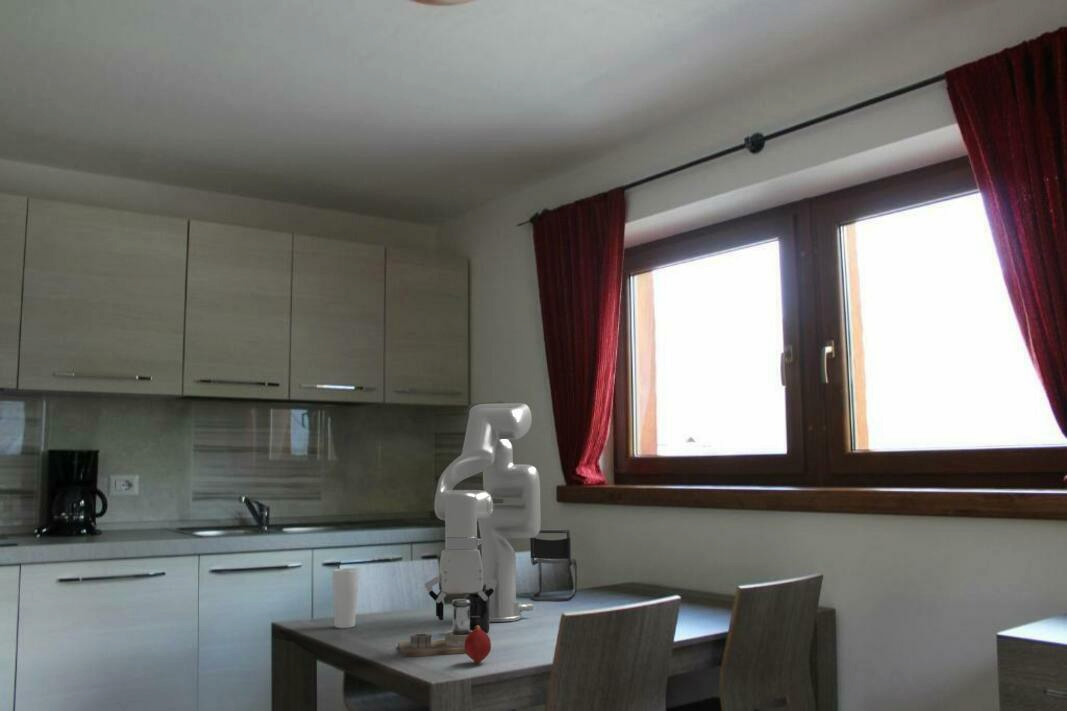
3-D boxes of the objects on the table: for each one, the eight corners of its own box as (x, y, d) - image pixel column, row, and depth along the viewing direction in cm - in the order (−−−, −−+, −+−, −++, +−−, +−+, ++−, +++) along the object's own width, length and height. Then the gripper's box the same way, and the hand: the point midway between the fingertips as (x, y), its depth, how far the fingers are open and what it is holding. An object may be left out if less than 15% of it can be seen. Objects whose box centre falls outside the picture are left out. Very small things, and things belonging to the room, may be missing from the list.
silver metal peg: (468, 641, 221) (468, 598, 222) (472, 644, 217) (472, 601, 218) (450, 642, 220) (450, 599, 221) (453, 646, 216) (453, 601, 217)
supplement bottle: (469, 635, 234) (469, 586, 235) (458, 631, 240) (458, 583, 241) (494, 633, 237) (494, 585, 238) (483, 629, 243) (483, 582, 244)
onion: (464, 660, 205) (464, 623, 206) (490, 659, 205) (490, 622, 206) (464, 666, 199) (464, 627, 200) (491, 665, 199) (491, 627, 200)
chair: (528, 601, 291) (527, 529, 293) (538, 593, 308) (537, 525, 310) (569, 601, 289) (568, 529, 291) (577, 594, 305) (576, 526, 308)
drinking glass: (351, 629, 243) (352, 571, 245) (327, 629, 245) (328, 570, 246) (361, 625, 250) (362, 568, 252) (338, 624, 251) (338, 568, 253)
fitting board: (476, 642, 225) (476, 627, 226) (487, 651, 214) (487, 636, 214) (398, 646, 220) (398, 631, 221) (404, 657, 209) (404, 641, 209)
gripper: (493, 542, 227) (493, 614, 225) (422, 544, 222) (422, 617, 220) (500, 544, 220) (500, 619, 218) (427, 547, 215) (426, 623, 213)
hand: (461, 618), depth 219 cm, fingers open, 9 cm apart
